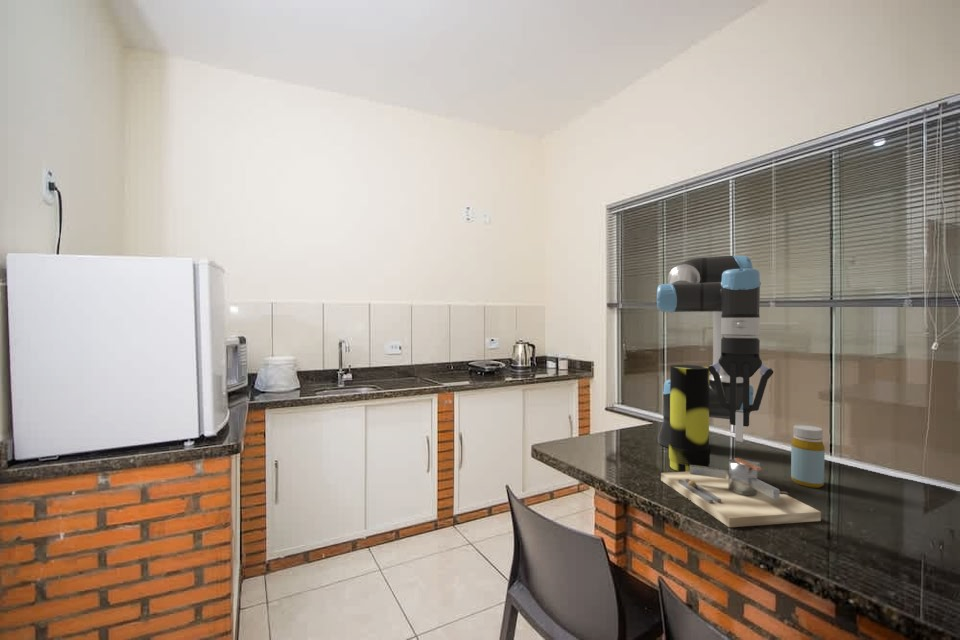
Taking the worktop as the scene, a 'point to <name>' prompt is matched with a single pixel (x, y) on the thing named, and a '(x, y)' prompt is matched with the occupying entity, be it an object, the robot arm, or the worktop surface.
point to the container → (689, 417)
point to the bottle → (807, 456)
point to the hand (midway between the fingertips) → (739, 439)
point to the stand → (739, 502)
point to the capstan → (739, 477)
